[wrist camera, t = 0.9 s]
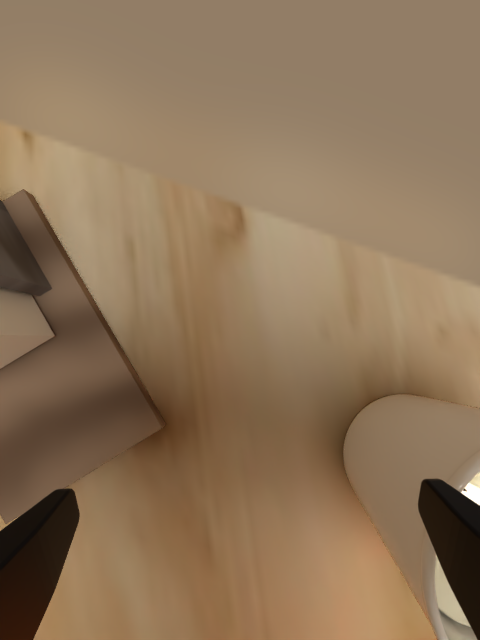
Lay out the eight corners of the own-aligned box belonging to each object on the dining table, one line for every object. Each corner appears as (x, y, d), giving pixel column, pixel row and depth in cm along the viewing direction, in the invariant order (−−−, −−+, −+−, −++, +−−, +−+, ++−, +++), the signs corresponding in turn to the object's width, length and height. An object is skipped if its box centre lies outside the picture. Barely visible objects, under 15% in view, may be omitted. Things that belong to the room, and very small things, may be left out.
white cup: (476, 387, 23) (736, 440, 11) (472, 534, 22) (742, 764, 10) (334, 377, 23) (433, 417, 11) (326, 522, 22) (421, 733, 10)
